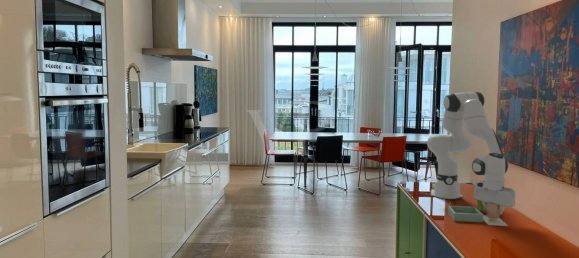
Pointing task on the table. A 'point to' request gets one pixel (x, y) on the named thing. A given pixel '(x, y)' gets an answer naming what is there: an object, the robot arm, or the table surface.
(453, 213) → the frame
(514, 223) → the table surface
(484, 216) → the mat
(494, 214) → the seedling pot
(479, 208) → the plant pot
